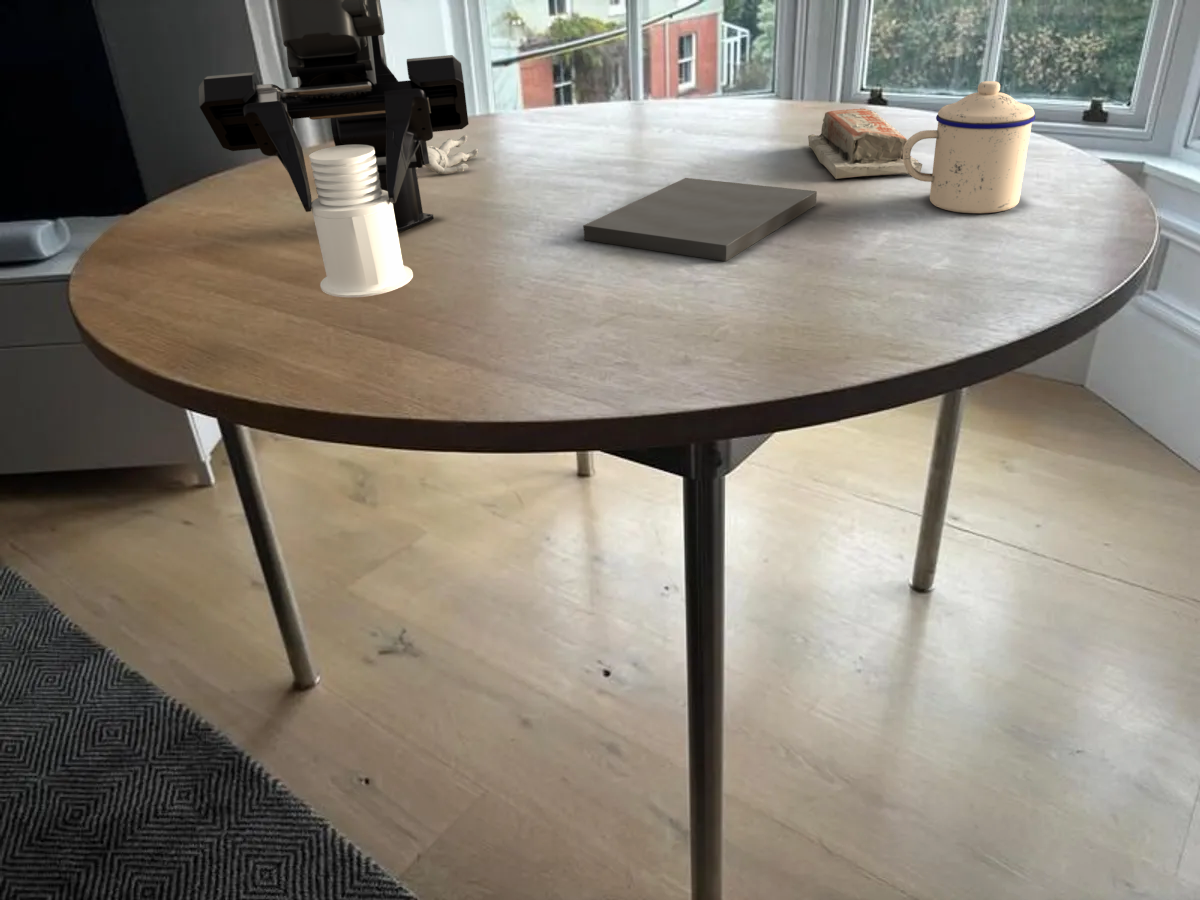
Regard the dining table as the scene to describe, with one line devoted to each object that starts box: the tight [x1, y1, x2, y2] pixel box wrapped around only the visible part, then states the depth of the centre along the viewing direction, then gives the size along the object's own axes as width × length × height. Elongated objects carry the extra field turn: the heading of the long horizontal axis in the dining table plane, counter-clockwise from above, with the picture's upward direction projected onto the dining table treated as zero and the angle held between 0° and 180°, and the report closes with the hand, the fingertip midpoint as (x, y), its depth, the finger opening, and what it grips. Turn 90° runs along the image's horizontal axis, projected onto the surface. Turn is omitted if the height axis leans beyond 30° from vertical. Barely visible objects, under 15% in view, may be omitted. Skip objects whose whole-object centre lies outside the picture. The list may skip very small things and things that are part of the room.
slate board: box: [582, 177, 818, 262], centre depth 95 cm, size 20×16×2 cm
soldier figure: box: [416, 134, 479, 175], centre depth 123 cm, size 8×5×12 cm
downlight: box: [308, 144, 414, 298], centre depth 69 cm, size 8×7×10 cm
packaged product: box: [807, 108, 923, 180], centre depth 113 cm, size 18×5×10 cm
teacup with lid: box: [903, 80, 1036, 214], centre depth 93 cm, size 12×9×12 cm
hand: (349, 204), depth 67 cm, fingers closed on downlight, 6 cm apart
